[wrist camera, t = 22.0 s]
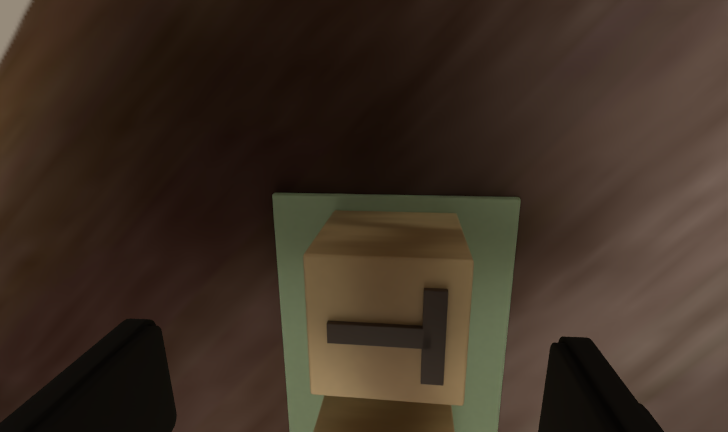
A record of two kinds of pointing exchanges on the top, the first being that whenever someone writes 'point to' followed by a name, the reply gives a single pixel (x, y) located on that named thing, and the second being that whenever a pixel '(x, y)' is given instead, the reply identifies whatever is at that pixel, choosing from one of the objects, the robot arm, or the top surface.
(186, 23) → the top surface
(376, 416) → the letter I
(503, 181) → the top surface
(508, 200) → the word mat
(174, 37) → the top surface
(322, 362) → the letter T
